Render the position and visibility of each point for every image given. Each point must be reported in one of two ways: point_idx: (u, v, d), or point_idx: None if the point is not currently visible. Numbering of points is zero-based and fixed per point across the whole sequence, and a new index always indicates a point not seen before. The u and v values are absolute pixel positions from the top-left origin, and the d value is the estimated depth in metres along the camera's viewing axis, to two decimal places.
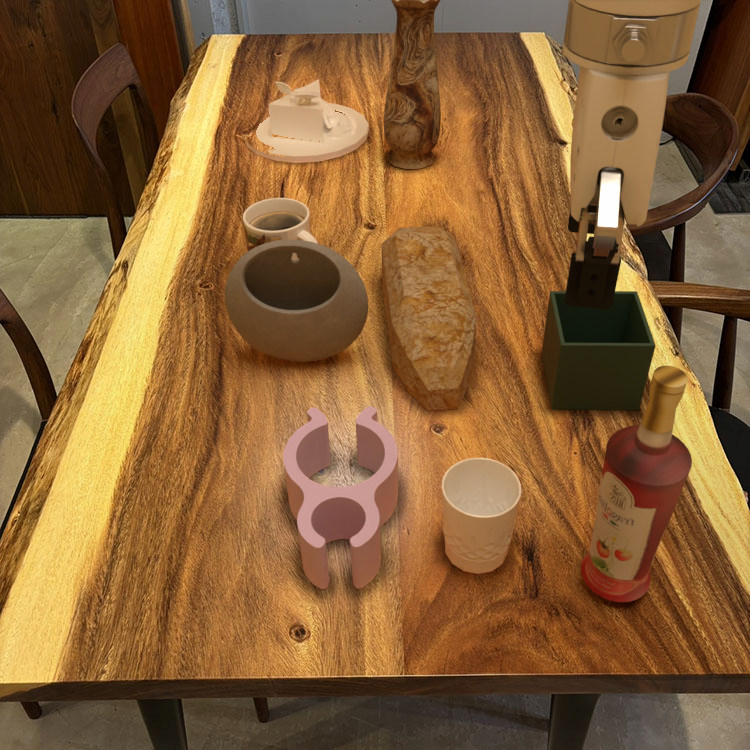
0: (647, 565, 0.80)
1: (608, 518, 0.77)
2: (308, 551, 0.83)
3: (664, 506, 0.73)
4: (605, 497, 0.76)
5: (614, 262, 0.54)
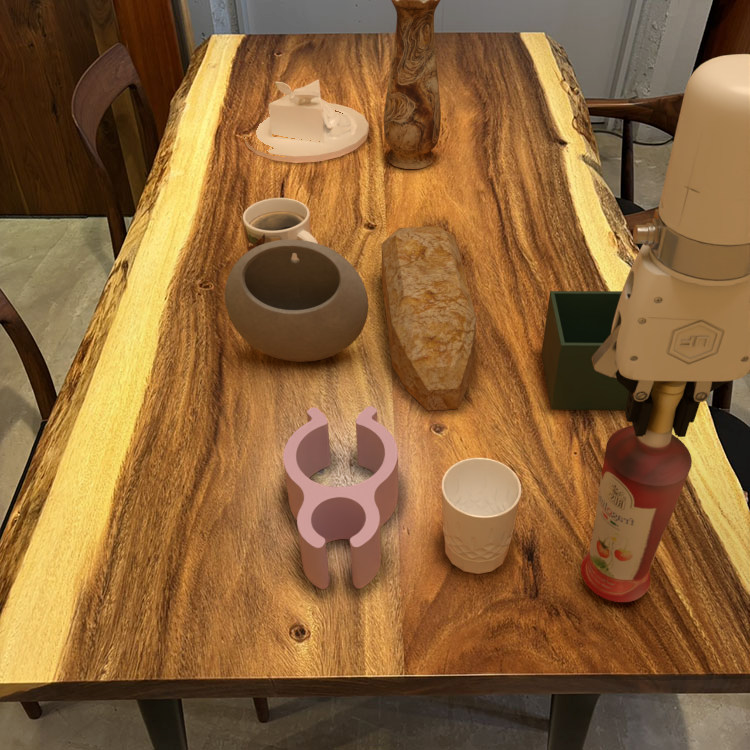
0: (647, 565, 0.80)
1: (608, 518, 0.77)
2: (308, 551, 0.83)
3: (664, 506, 0.73)
4: (605, 497, 0.76)
5: (633, 395, 0.68)
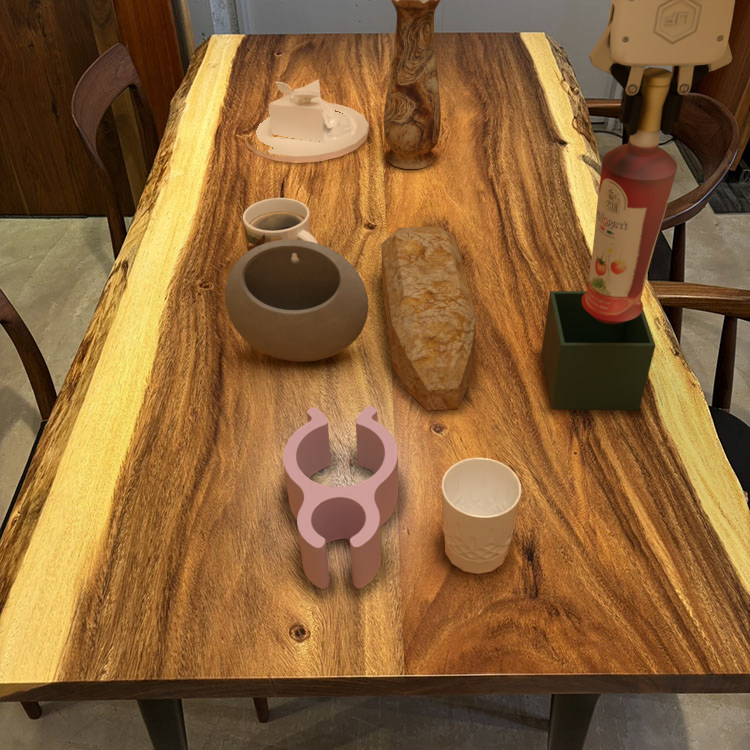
0: (639, 281, 0.91)
1: (604, 229, 0.88)
2: (308, 551, 0.83)
3: (654, 207, 0.84)
4: (602, 208, 0.87)
5: (625, 89, 0.79)
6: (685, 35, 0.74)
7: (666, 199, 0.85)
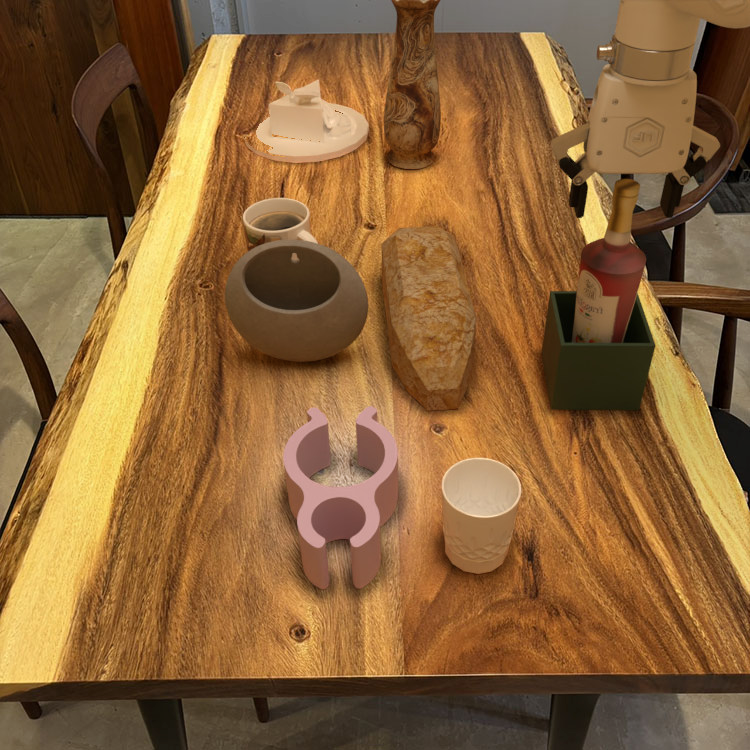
0: None
1: (583, 312, 1.00)
2: (308, 551, 0.83)
3: (625, 295, 0.96)
4: (581, 294, 0.99)
5: (572, 180, 0.90)
6: (651, 150, 0.85)
7: (636, 288, 0.97)
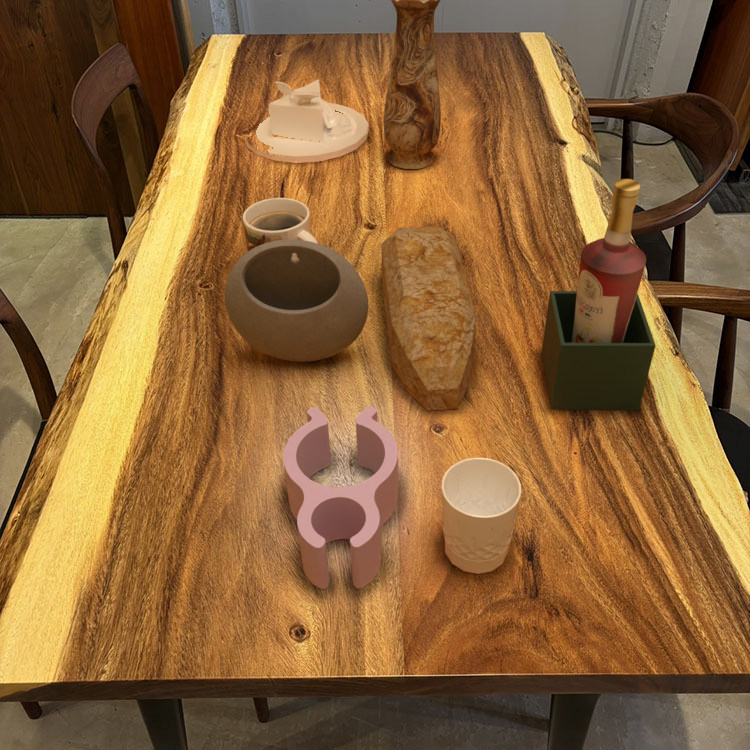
0: None
1: (583, 312, 1.00)
2: (308, 551, 0.83)
3: (625, 295, 0.96)
4: (581, 294, 0.99)
5: None
6: None
7: (636, 288, 0.97)
